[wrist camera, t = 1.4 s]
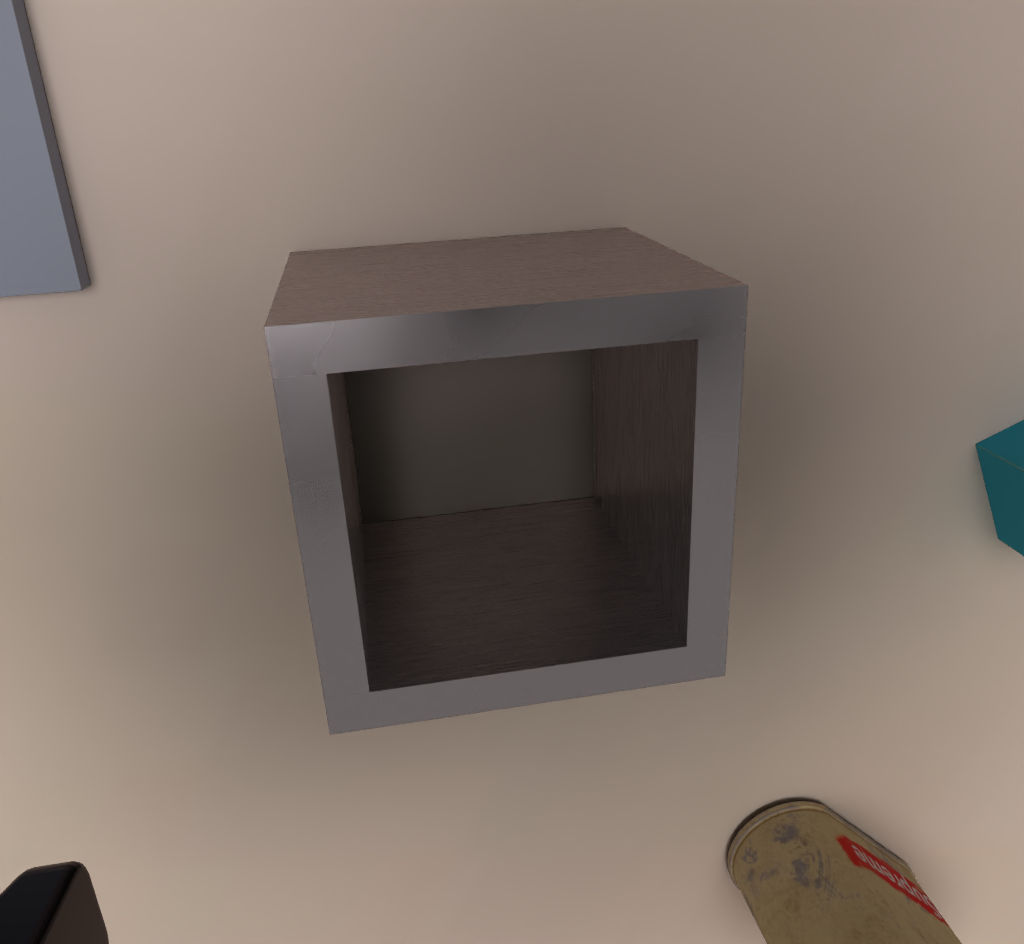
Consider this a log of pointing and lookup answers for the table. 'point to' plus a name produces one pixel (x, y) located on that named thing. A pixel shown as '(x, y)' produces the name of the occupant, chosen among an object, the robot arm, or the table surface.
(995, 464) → the multicoloured triangular frame
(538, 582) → the collar
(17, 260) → the grey peg stand
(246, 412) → the table surface
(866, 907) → the old metal can
